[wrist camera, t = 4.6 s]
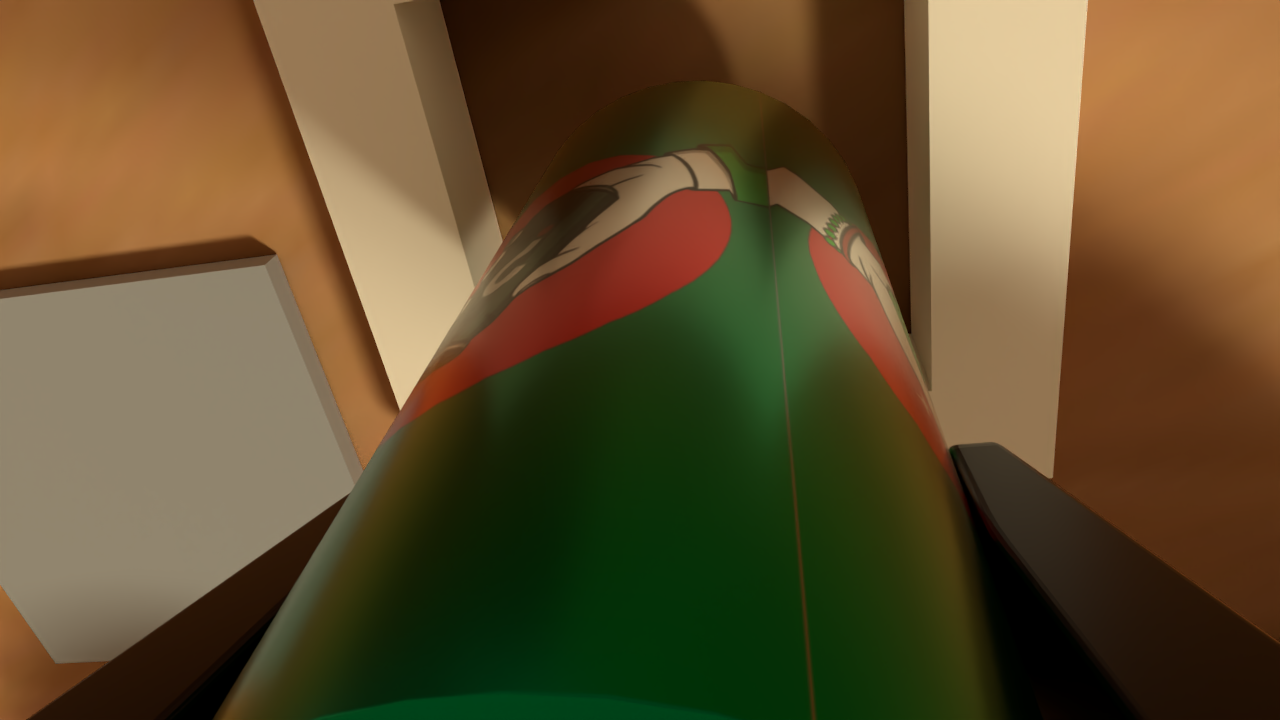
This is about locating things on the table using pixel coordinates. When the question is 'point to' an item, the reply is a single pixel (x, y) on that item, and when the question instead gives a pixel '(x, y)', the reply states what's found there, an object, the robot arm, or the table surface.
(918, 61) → the block
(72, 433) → the grey mat
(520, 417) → the soda can
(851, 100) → the table surface
